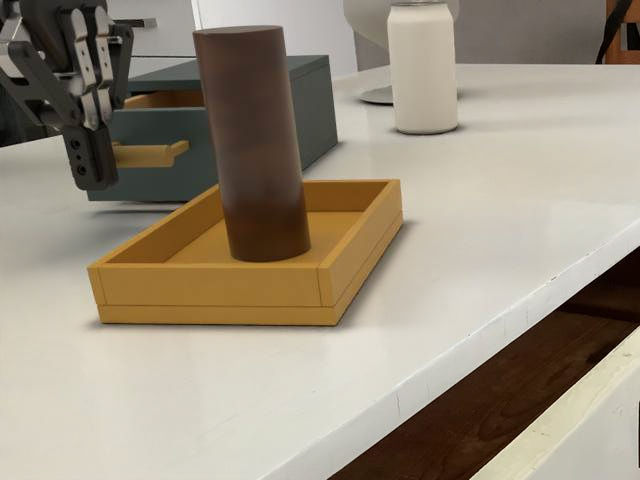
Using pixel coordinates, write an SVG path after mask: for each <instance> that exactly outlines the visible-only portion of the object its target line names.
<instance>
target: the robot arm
mask: <svg viewBox="0 0 640 480" xmlns="http://www.w3.org/2000/svg"><path fill="white" fill-rule="evenodd" d="M108 13H109V7H108V1H107V0H0V20H1V21H2V23H3V25H2V28H1V30H0V84H1V85H2V86H3V88H4V89H5V90H6V91H7V93H9V95H10V96H11V97H12V99H14V101H15V102H16V103H17V104H18V106H19V107H20V108H21V109H22V110H23V112H24V113H25V114H26V116H28V118H29V119H30V120H31V122H32V123H33V124H34V125H35V126H37V127H39V126H41V127H43V126H44V127H45V126H47V127H48V126H49V127H52V128H53V129H54V130H55V131H57V132H58V131H59V132H60V134H61V136H62V139H63V143H64V148H65V151H66V155H67V159H68V160H69V161H68V164H69V166H70V173H71V176H72V178H73V180H74V184H75V186H76V188H77V189H79V190H80V191H84V192H85V191H102V190H105V189H107V188H110V187H112V186H114V185H116V184H117V183H118V182H119V176H118V171H117V167H116V162H115V157H114V153H113V148H112V144H111V139H110V135H109V130H108V125H110V124H111V123H112V120H113V115H112V113H113V111H114V110H121V109H123V107H124V103H125V96H126V89H127V83H128V79H129V76H130V68H131V62H132V54H133V48H134V41H135V33H134V30H133V27H132V26H131V24H129V23H116V22H115V21H114V20H113V19H112V18H111V17H110V16H109V14H108Z"/></svg>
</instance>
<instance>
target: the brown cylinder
mask: <svg viewBox="0 0 640 480" xmlns="http://www.w3.org/2000/svg"><path fill="white" fill-rule="evenodd" d="M191 34H192V41H193V46H194V52H195V57H196V59H197V64H198V69H199V75H200V81H201V87H202V92H203V98H204V104H205V110H206V115H207V121H208V127H209V133H210V139H211V144H212V150H213V156H214V162H215V167H216V173H217V179H218V185H219V190H220V196H221V202H222V208H223V213H224V219H225V225H226V231H227V236H228V242H229V248H230V254H231V256H232V257H233V258H235V259H237V260H240V261H245V262H273V261H280V260H285V259H289V258H293V257H296V256H299V255H301V254H303V253H305V252H307V251H308V250H309V249H310V247H311V240H310V232H309V225H308V217H307V209H306V202H305V194H304V186H303V180H304V179H303V178H304V177H303V170H302V171H301V163H300V155H299V148H298V140H297V132H296V124H295V117H294V109H293V101H292V93H291V86H290V78H289V70H288V63H287V56H288V55H287V48H286V40H285V32H284V27H283V26H281V25H275V24H274V25H273V24H272V25H271V24H260V25H259V24H257V25H236V26H235V25H233V26H220V27H209V28H202V29H197V30H193V31H192V32H191Z"/></svg>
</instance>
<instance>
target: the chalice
mask: <svg viewBox="0 0 640 480" xmlns="http://www.w3.org/2000/svg"><path fill="white" fill-rule="evenodd" d="M411 1H448V3H447V7H448V9H449V11H450V13H451V15H452V18H453V25H454V24H455V22H456V21H457V19H458V17H459V13H460V7H461V5H460V0H342V9H343V16H344V18H345V20H346V23H347V24H348V25H349V27H350V28H351V29H352V30H353V31H355V32H356V33H357V34H358V35H361V36H362V37H364V38H366V39H367V40H369V41H371V42H373V43H374V44H376V45H378V46H379V47H380V48H382V49H384V50H385V51H386V52H388V53H389V42H388V28H387V21H388V17H389V14H390V11H391V6H390V4H391V3H398V2H411ZM358 99H360V100H362V101H365V102H369V103H370V102H371V103H377V104H378V103H379V104H393V93H392V84H390V85H388V86H385V87H379V88H374V89H371V90H368V91H365V92H363V93H361V94H360V95H359V97H358Z"/></svg>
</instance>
